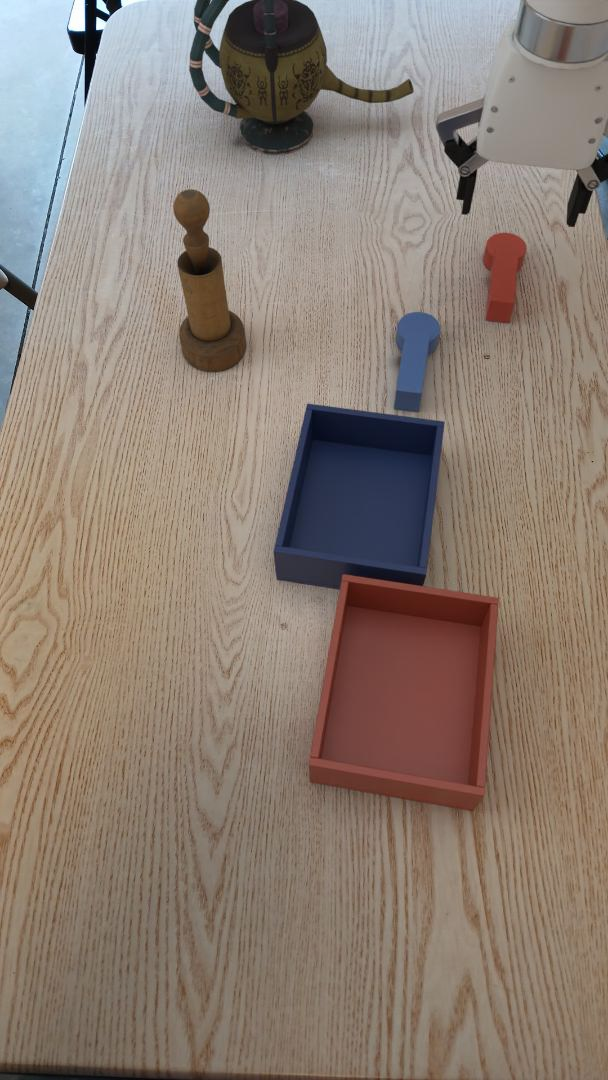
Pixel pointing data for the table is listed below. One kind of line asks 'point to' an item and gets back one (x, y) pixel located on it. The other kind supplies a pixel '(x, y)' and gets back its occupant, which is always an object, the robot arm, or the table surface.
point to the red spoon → (503, 274)
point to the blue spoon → (414, 357)
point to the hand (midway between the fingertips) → (518, 210)
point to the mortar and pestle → (205, 293)
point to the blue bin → (359, 498)
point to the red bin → (407, 693)
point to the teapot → (271, 71)
